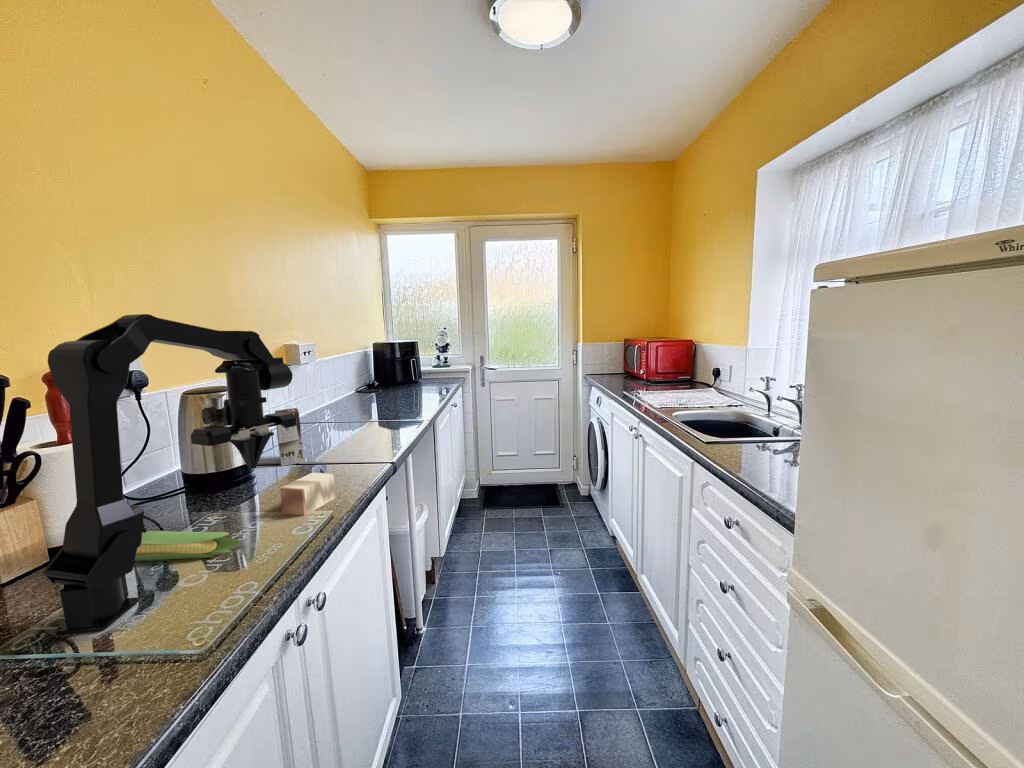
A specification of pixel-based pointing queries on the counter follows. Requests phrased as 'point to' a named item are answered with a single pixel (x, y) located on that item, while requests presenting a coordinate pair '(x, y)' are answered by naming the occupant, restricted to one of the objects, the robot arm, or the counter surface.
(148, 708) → the counter surface
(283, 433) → the coffee box
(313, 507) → the marked block
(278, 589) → the counter surface
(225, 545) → the edible corn
